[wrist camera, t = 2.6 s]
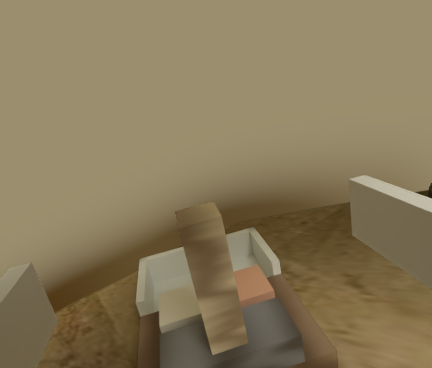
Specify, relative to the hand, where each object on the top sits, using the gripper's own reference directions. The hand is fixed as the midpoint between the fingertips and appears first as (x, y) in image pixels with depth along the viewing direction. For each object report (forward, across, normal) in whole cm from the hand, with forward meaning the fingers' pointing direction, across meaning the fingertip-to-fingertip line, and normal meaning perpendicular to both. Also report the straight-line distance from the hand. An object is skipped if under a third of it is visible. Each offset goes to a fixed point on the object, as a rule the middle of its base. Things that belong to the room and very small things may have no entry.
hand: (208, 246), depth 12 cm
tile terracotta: (+16, +4, -18) cm, 24 cm away
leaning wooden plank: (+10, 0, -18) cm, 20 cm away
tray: (+25, 0, -20) cm, 32 cm away
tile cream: (+16, -3, -18) cm, 24 cm away
